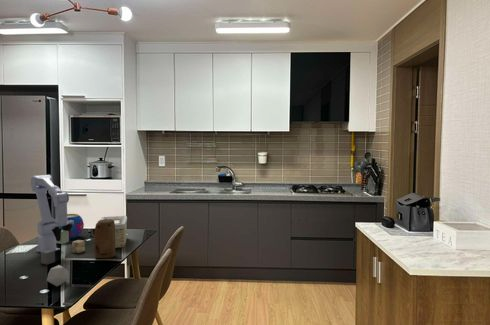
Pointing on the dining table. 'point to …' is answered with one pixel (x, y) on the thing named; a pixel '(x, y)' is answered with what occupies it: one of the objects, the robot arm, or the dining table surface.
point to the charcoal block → (48, 256)
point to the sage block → (64, 237)
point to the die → (57, 275)
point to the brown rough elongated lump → (104, 239)
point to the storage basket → (119, 230)
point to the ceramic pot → (75, 225)
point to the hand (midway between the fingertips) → (62, 239)
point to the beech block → (78, 246)
